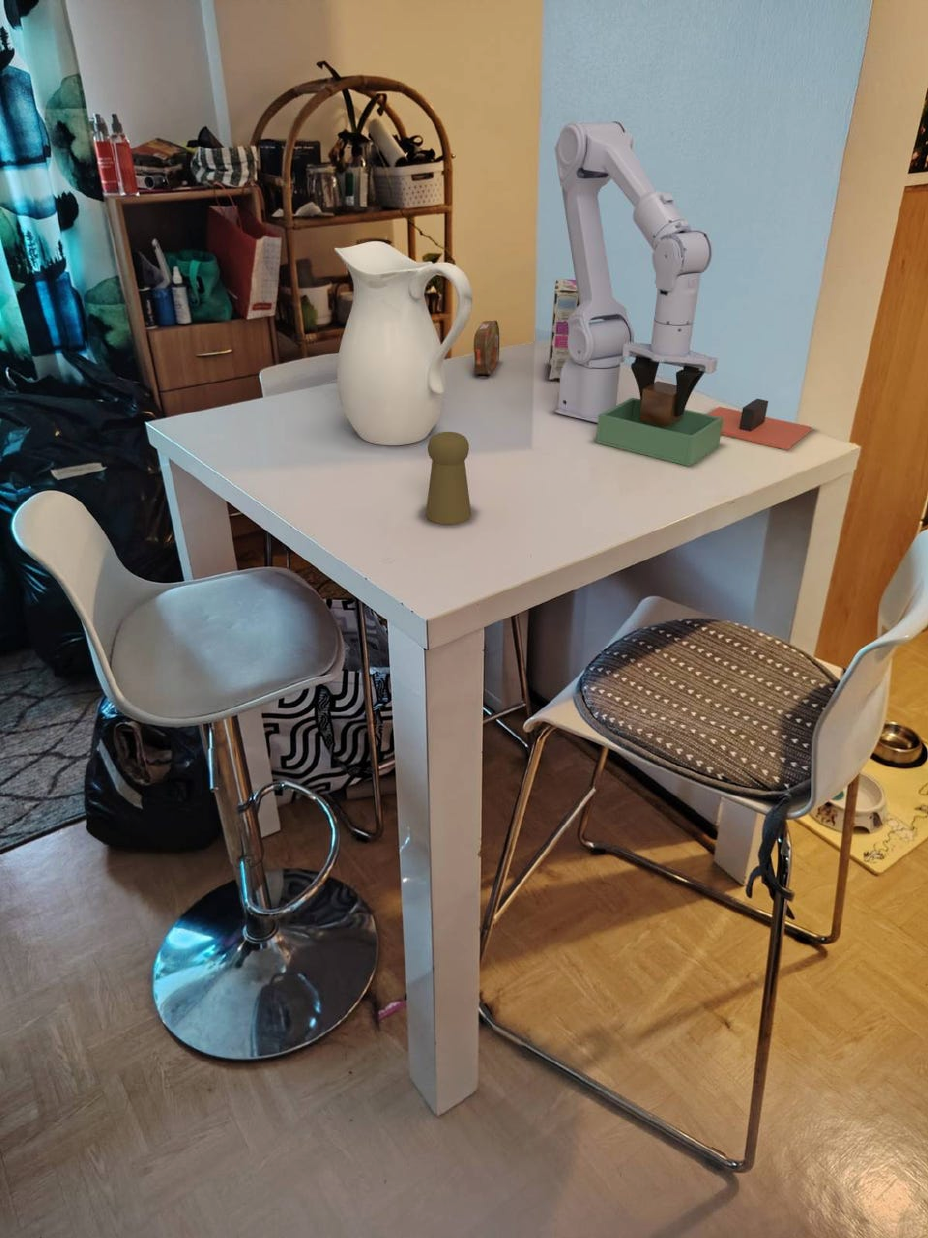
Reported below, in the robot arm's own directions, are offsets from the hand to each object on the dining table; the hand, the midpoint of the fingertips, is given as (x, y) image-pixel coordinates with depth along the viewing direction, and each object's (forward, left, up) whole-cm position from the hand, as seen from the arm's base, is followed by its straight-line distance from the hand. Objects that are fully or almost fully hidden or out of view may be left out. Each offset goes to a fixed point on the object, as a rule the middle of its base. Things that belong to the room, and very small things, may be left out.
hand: (661, 410), depth 138 cm
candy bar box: (-32, +23, -6) cm, 40 cm away
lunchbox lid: (+9, +16, -5) cm, 19 cm away
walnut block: (0, 0, -1) cm, 1 cm away
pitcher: (-32, -23, -6) cm, 40 cm away
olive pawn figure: (-10, -41, -6) cm, 43 cm away
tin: (-45, +16, -6) cm, 48 cm away
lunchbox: (0, 0, -5) cm, 5 cm away
